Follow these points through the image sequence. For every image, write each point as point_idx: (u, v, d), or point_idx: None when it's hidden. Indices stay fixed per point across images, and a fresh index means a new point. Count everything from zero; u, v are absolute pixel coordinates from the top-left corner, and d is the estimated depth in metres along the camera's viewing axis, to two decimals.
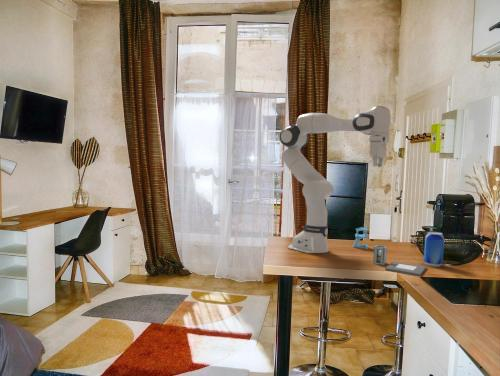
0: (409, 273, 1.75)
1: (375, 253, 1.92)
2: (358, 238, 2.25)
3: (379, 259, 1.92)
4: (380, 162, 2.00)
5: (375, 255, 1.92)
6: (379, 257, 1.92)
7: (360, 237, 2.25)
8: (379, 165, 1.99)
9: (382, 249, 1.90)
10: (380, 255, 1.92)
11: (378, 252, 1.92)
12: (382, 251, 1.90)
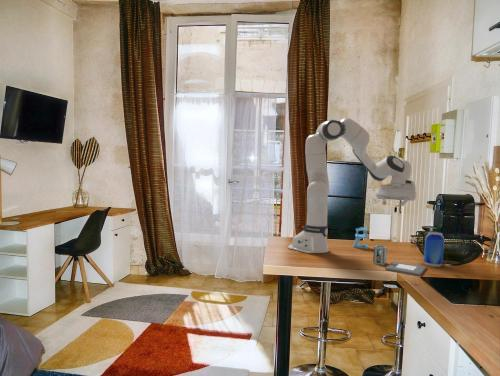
0: (409, 273, 1.75)
1: (375, 253, 1.92)
2: (358, 238, 2.25)
3: (378, 259, 1.92)
4: None
5: (375, 255, 1.92)
6: (377, 257, 1.92)
7: (360, 237, 2.25)
8: (385, 203, 2.09)
9: (382, 249, 1.90)
10: (380, 254, 1.92)
11: None
12: (382, 251, 1.90)
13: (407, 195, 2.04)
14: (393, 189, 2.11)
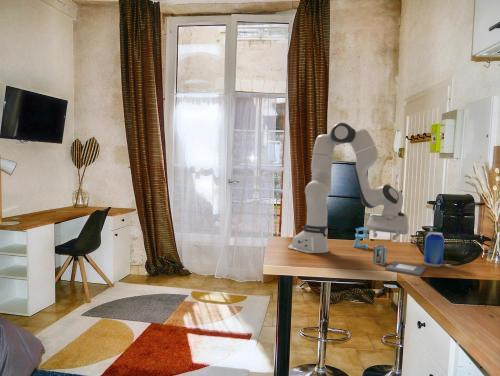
0: (409, 273, 1.75)
1: (375, 253, 1.92)
2: (358, 238, 2.25)
3: (378, 260, 1.92)
4: (375, 233, 2.01)
5: (375, 255, 1.92)
6: (377, 258, 1.92)
7: (360, 237, 2.25)
8: (376, 235, 2.00)
9: (382, 249, 1.90)
10: (380, 253, 1.92)
11: None
12: (382, 251, 1.90)
13: (399, 229, 1.95)
14: (385, 221, 2.02)
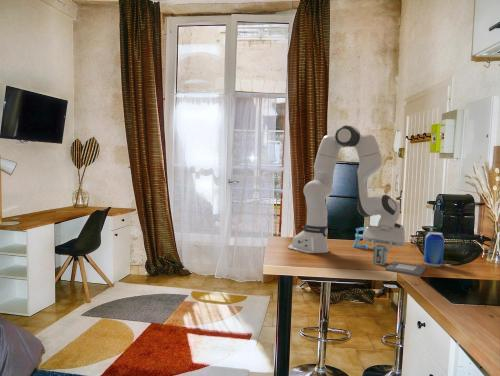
0: (409, 273, 1.75)
1: (375, 253, 1.92)
2: (358, 238, 2.25)
3: (378, 260, 1.92)
4: (373, 244, 1.95)
5: (375, 255, 1.92)
6: (377, 258, 1.92)
7: (360, 237, 2.25)
8: None
9: (382, 249, 1.90)
10: None
11: None
12: (382, 251, 1.90)
13: (396, 240, 1.90)
14: (381, 232, 1.97)
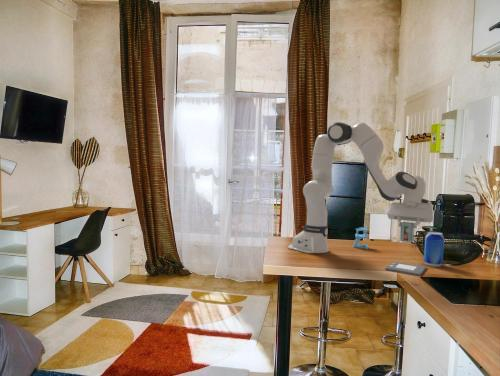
0: (409, 273, 1.75)
1: (402, 230, 1.82)
2: (358, 238, 2.25)
3: (405, 237, 1.82)
4: (400, 222, 1.86)
5: (402, 232, 1.82)
6: (404, 235, 1.82)
7: (360, 237, 2.25)
8: None
9: (410, 225, 1.80)
10: (408, 230, 1.82)
11: None
12: (410, 227, 1.80)
13: (424, 216, 1.80)
14: (407, 209, 1.87)
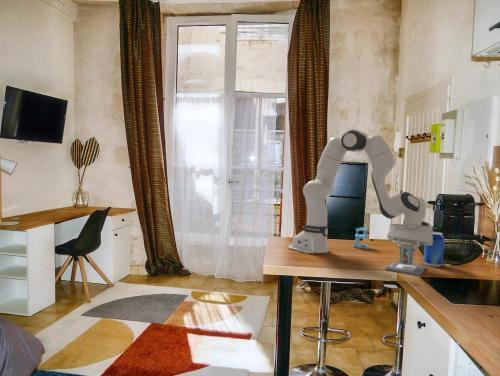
0: (409, 273, 1.75)
1: (402, 253, 1.82)
2: (358, 238, 2.25)
3: (404, 260, 1.82)
4: (399, 244, 1.86)
5: (402, 255, 1.82)
6: (403, 258, 1.82)
7: (360, 237, 2.25)
8: None
9: (409, 248, 1.80)
10: None
11: None
12: (409, 251, 1.80)
13: (423, 240, 1.80)
14: (407, 231, 1.87)
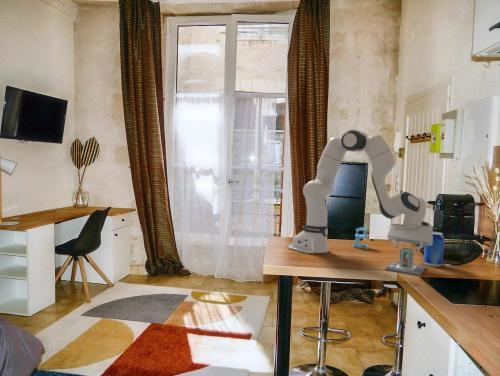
0: (409, 273, 1.75)
1: (401, 256, 1.82)
2: (358, 238, 2.25)
3: (404, 263, 1.82)
4: (396, 243, 1.86)
5: (401, 258, 1.82)
6: (403, 261, 1.82)
7: (360, 237, 2.25)
8: (398, 246, 1.85)
9: (409, 252, 1.80)
10: (407, 256, 1.82)
11: None
12: (409, 254, 1.80)
13: (424, 240, 1.80)
14: (407, 231, 1.87)
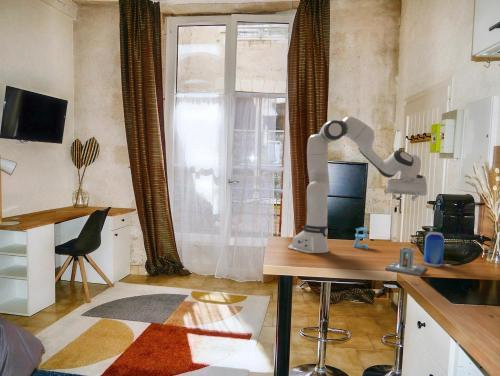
0: (409, 273, 1.75)
1: (401, 256, 1.82)
2: (358, 238, 2.25)
3: (404, 263, 1.82)
4: (394, 195, 2.05)
5: (401, 258, 1.82)
6: (403, 261, 1.82)
7: (360, 237, 2.25)
8: (395, 197, 2.03)
9: (409, 252, 1.80)
10: (407, 256, 1.82)
11: None
12: (409, 254, 1.80)
13: (418, 190, 1.99)
14: (403, 183, 2.05)
